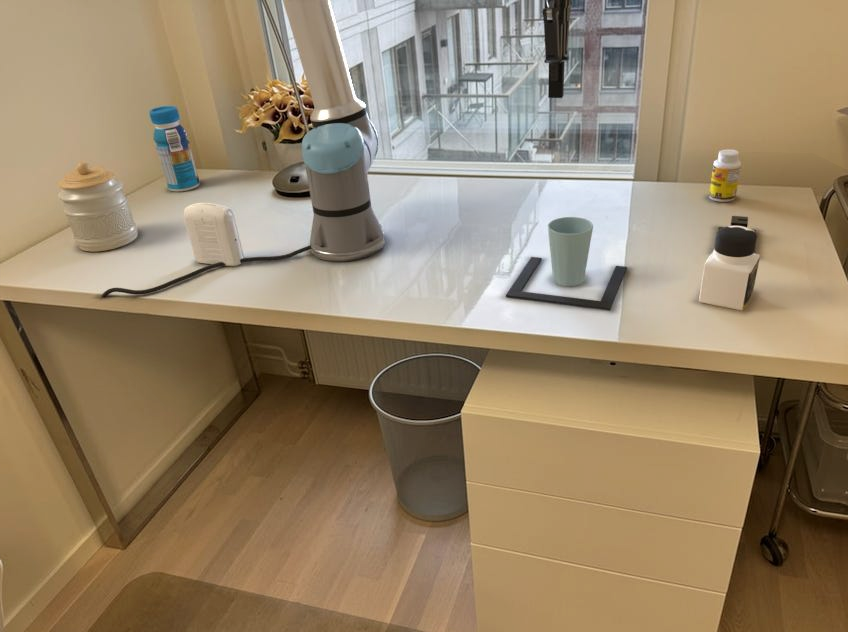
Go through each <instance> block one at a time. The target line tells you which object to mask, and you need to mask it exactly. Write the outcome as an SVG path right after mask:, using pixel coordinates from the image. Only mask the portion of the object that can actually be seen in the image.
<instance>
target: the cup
mask: <svg viewBox="0 0 848 632" xmlns="http://www.w3.org/2000/svg"><path fill="white" fill-rule="evenodd" d="M593 230H594V224H593V222H592V221H590V220H589V219H586V218H582V217H577V216H564V217H559V218H555V219H552V220H551V221H549V222H548V224H547V234H548V243H549V252H550V264H551V271H552V272H551V273H552V280H553V282H554V283H555V284H556V285H559V286H562V287H575V286H576V287H577V286H579V285H581V284H583V282H584V281H585V276H586V270H587V264H588V259H589V254H590V247H591V241H592V236H593Z"/></svg>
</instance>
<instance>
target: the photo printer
mask: <svg viewBox="0 0 848 632" xmlns="http://www.w3.org/2000/svg"><path fill="white" fill-rule="evenodd" d="M183 221H184V224H185V227H186V230H187V236H188V238H189V240H190V246H191V248H192V253H193V256H194V259H195V262H197V263H200V264H206V265H207V264H208V265H212V264H216V263H219V262H223V263H225V265H224V266H228V267H235V266H236V267H237V266H239V265H241V264H242V263H241V262H240V260H241V259H243V258H245V257H244V251H243V247H242V243H241V239H240V233H239V230H238V226H237V225H238V224H237V220H236V217H235V214H234V211H233V210H232V209H231V208H229V207H227V206H224V205H222V204H219V203H214V202H196V203H192V204H189V205H188V206H186V207H185V208H184V209H183Z"/></svg>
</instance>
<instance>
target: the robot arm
mask: <svg viewBox="0 0 848 632" xmlns="http://www.w3.org/2000/svg"><path fill="white" fill-rule="evenodd" d="M282 3H283V6H284V9H285V13H286V17H287V20H288V22H289V26H290V30H291V33H292V37H293V40H294V44H295V47H296V49H297V53H298V56H299V59H300V63H301V66H302V70H303V73H304V77H305V80H306V83H307V87H308V90H309V93H310V97H311V100H312V103H313V107H314V108H313V111H312V113H311V114H310V117H309V118H310V123H311V126H312V129H311V130H309V131H308V132H306V133H305V134H304V136H303V138H302V141H301V150H302V151H301V155H302V161H303V163H304V168H305V174H306V179H307V184H308V191H309V195H310V202H311V207H312V212H313V218H312V223H311V224H312V225H311V230H310V238H309V245H307V246H304V247H301V248H299V249H297V250H294V251H292V252H290V253H286V254H282V255H273V256H272V255H271V256H252V257H244V258H243V259H241V260H240V262H241V264H242V263H250V262H251V263H252V262H263V261H265V262H266V261H267V262H268V261H281V260H286V259H289V258H293V257H295V256H297V255H299V254H302V253H304V252H308V251H311V254H312V255H313V256H314V257H316V258H317V259H320V260H323V261H327V262H351V261H356V260H360V259H361V260H362V259H365V258H367V257H370V256H373V255H374V254H376V253H378V252H380V251H381V250H382V249H383V248H384V247H385V243H386V239H385V232H384V230H383V228H382V225H381V223H380V222H379V219H378V218H377V215H376V214H375V212H374V209H373V207H372V201H371V193H370V185H369V184H370V183H369V178H368V177H369V175H368V173H369V170H370V168H371V166H372V164H373V162H374V161H375V159H376V157H377V154H378V150H379V136H378V132H377V128H376V127H375V125H374V124H373V122H372V121H371V120H370V119H369V118H370V117H369V114H368V110H367V107H366V104H365V102H364V101H362V100H360V99H359V98H357V96H356V94H355V90H354V87H353V83H352V79H351V75H350V71H349V68H348V64H347V59H346V57H345V53H344V49H343V45H342V40H341V38H340V34H339V30H338V26H337V23H336V19H335V15H334V11H333V7H332V4H331V0H282ZM572 5H573V1H572V0H544V7H543V8H542V11H541V12H542V19H543V31H544V32H543V33H544V53H545V59H544V60H543V62H544V64H548V84H547V85H548V89H547V91H548V93H547V96H548V97H547V98H548V99H562V98H564V91H565V61H566V62H567V61H569V59H570V56H567V55H568V53H569V52H568V51H569V50H568V49H569V48H568V47H569V36H570V35H569V34H570V24H571V23H570V21H571V11H572ZM225 266H226V265H225V263H223V262H219V263H216V264H208V265H206V266H203V267H201V268H199V269H196V270H194V271H192V272H189V273H187V274H185V275H182V276H179V277H176V278H174V279H172V280H169V281H166V282H164V283H162V284H160V285H157V286H153V287H150V288H146V289H139V290H137V289H130V288H124V287H111V288H109V289H108V288H107V290H105V291H104V292H103V293H102V294H101V296H100V298H101V299H105V298H107V297H108V296H109V295H110V294H112V293H123V294H128V295H136V296H137V295H139V296H140V295H147V294H152V293H155V292H158V291H161V290H164V289H166V288H169V287H171V286H173V285H175V284H178V283H180V282H183V281H185V280H188V279H190V278H193V277H195V276H197V275H199V274H202V273H204V272H207V271H209V270H213V269H216V268H220V267H225Z"/></svg>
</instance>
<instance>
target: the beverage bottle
mask: <svg viewBox="0 0 848 632" xmlns="http://www.w3.org/2000/svg"><path fill="white" fill-rule="evenodd" d="M148 113H149V118H150V120H151V123H152V125H153V126H155V127H154V131H153V141H154V143H155V144H156V145H155V151H156V153H157V155H158V158H159V161H160V165H161V168H162V171H163V174H164V177H165V181H166V185H167V188H168V190H169V191H171V192H175V193H177V192H179V193H180V192H187V191H191V190H194V189H196V188H198V187H199V186H200V184H201V181H200V178H199V175H198V171H197V167H196V164H195V163H196V162H195V160H194V155H193V152H192V145H191V142H190V140H189V139H188V133H187V131H186V129H185V128H184V127H183V125H182V124H180V123H179V122H180V121H181V118H180V114H179V110H178V108H177V106H176V105H175V106H174V105H165V106H164V105H163V106H158V107H153V108H151V109H149V111H148Z"/></svg>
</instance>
